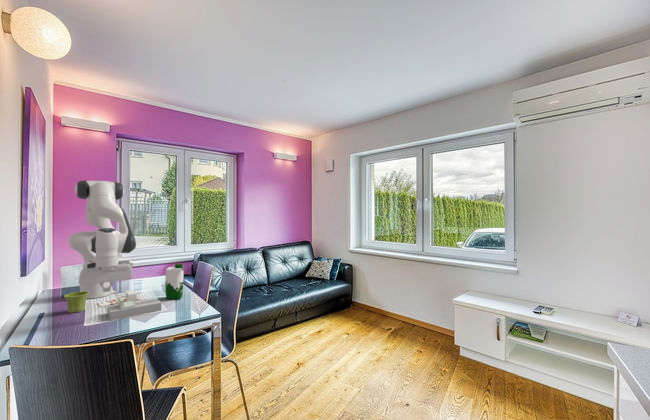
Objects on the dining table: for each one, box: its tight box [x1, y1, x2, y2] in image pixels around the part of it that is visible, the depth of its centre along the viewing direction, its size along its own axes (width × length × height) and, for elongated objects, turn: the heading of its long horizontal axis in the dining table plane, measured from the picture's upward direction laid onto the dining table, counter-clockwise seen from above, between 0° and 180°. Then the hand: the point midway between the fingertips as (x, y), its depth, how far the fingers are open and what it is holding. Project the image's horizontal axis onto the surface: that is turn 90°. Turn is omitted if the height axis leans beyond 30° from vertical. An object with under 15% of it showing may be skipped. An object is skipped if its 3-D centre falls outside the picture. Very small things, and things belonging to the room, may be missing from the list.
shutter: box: [117, 296, 135, 309], centre depth 140 cm, size 10×6×4 cm, turn 43°
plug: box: [125, 289, 138, 302], centre depth 153 cm, size 9×4×7 cm, turn 43°
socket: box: [106, 297, 162, 322], centre depth 143 cm, size 12×21×4 cm, turn 133°
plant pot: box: [63, 291, 89, 314], centre depth 144 cm, size 9×9×9 cm
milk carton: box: [164, 263, 184, 301], centre depth 166 cm, size 9×9×20 cm
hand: (106, 291), depth 135 cm, fingers closed
